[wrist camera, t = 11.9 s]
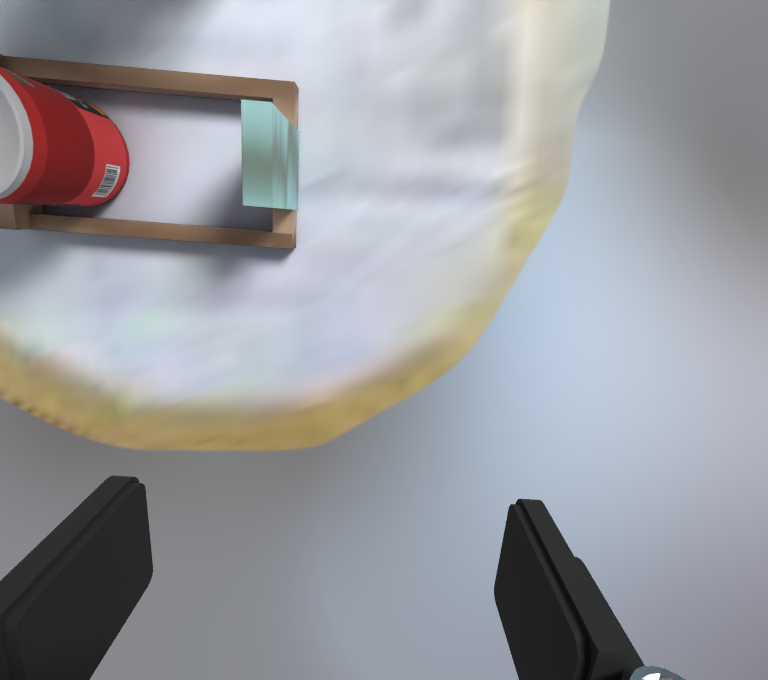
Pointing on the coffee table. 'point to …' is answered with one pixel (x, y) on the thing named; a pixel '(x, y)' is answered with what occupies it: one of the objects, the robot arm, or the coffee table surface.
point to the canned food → (56, 147)
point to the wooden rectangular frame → (259, 150)
